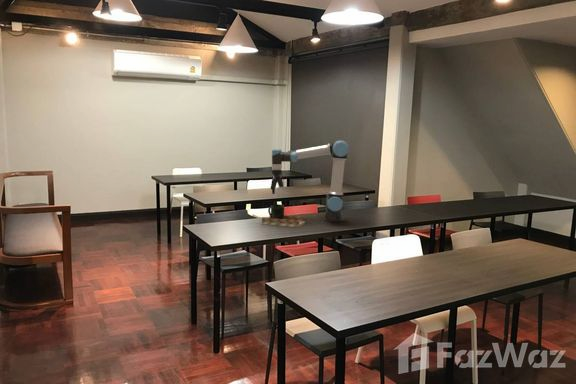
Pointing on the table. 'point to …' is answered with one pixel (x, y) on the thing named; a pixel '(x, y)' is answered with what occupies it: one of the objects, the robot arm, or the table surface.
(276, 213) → the mug
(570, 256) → the table surface
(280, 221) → the brown lumpy flat block
